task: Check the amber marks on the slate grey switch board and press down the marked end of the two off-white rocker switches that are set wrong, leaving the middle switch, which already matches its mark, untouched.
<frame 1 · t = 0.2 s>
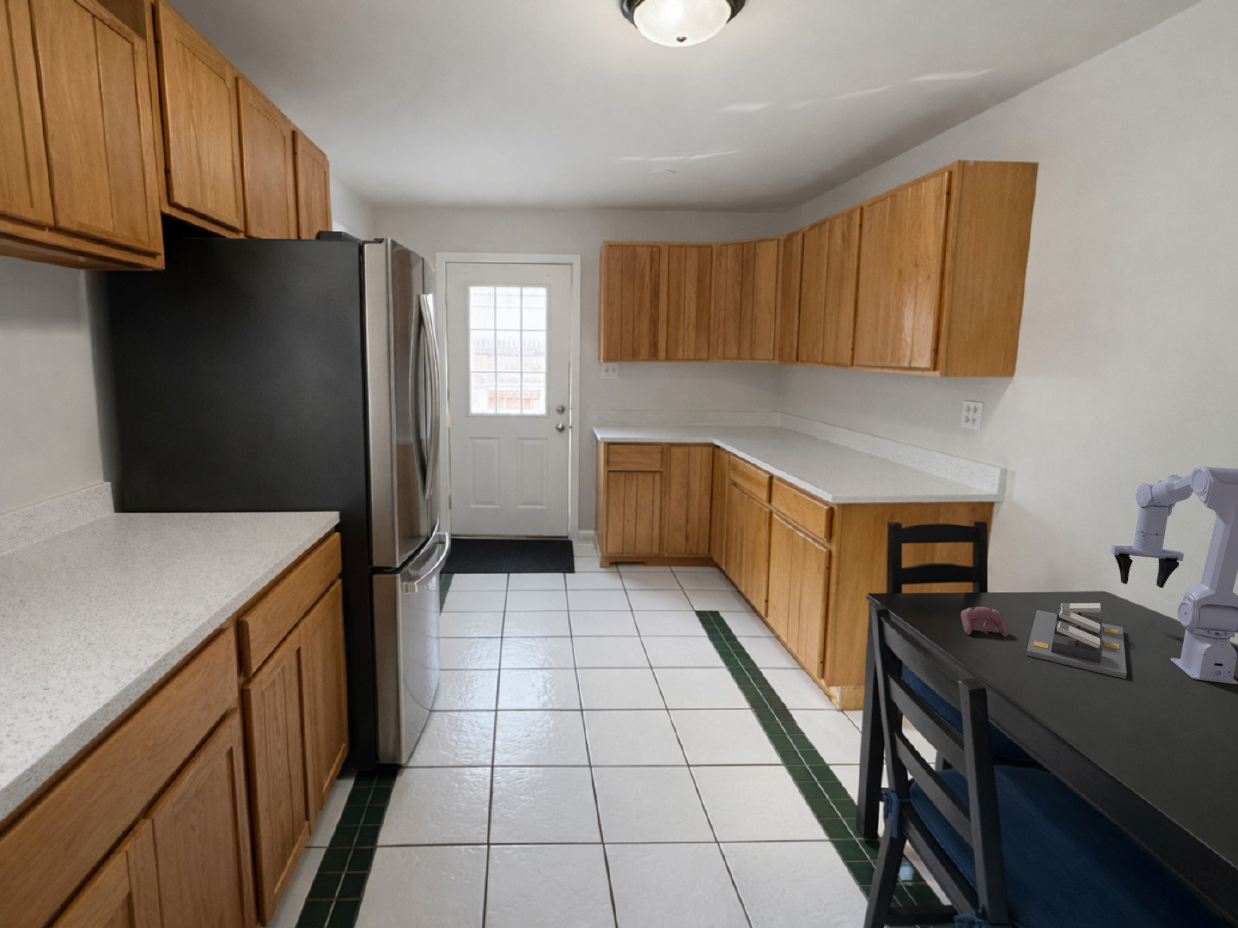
hand: (1141, 584, 171), 10 cm above the table, tool pointing down, fingers open, 7 cm apart
rocker far: (1080, 607, 167), point 6 cm above the table, hinge at 14.0°
rocker near: (1078, 634, 151), point 6 cm above the table, hinge at -14.0°
rocker middle: (1079, 620, 159), point 6 cm above the table, hinge at -14.0°
switch board: (1076, 643, 160), on the table
video game controller: (982, 633, 165), on the table
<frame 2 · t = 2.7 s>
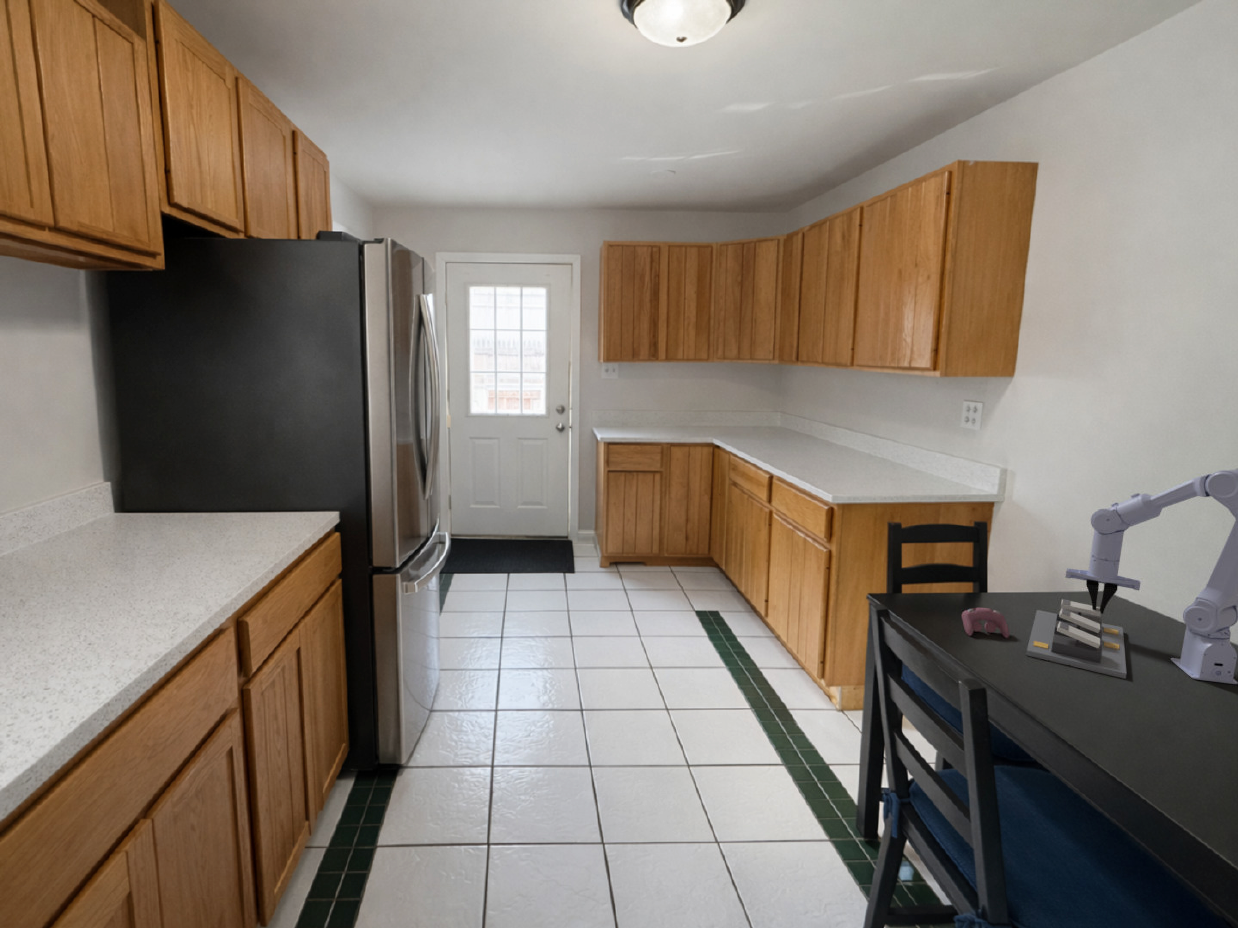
hand: (1097, 611, 165), 5 cm above the table, tool pointing down, fingers closed, pressing on rocker far
rocker far: (1080, 607, 167), point 6 cm above the table, hinge at -1.6°, touching gripper
everything else where it was.
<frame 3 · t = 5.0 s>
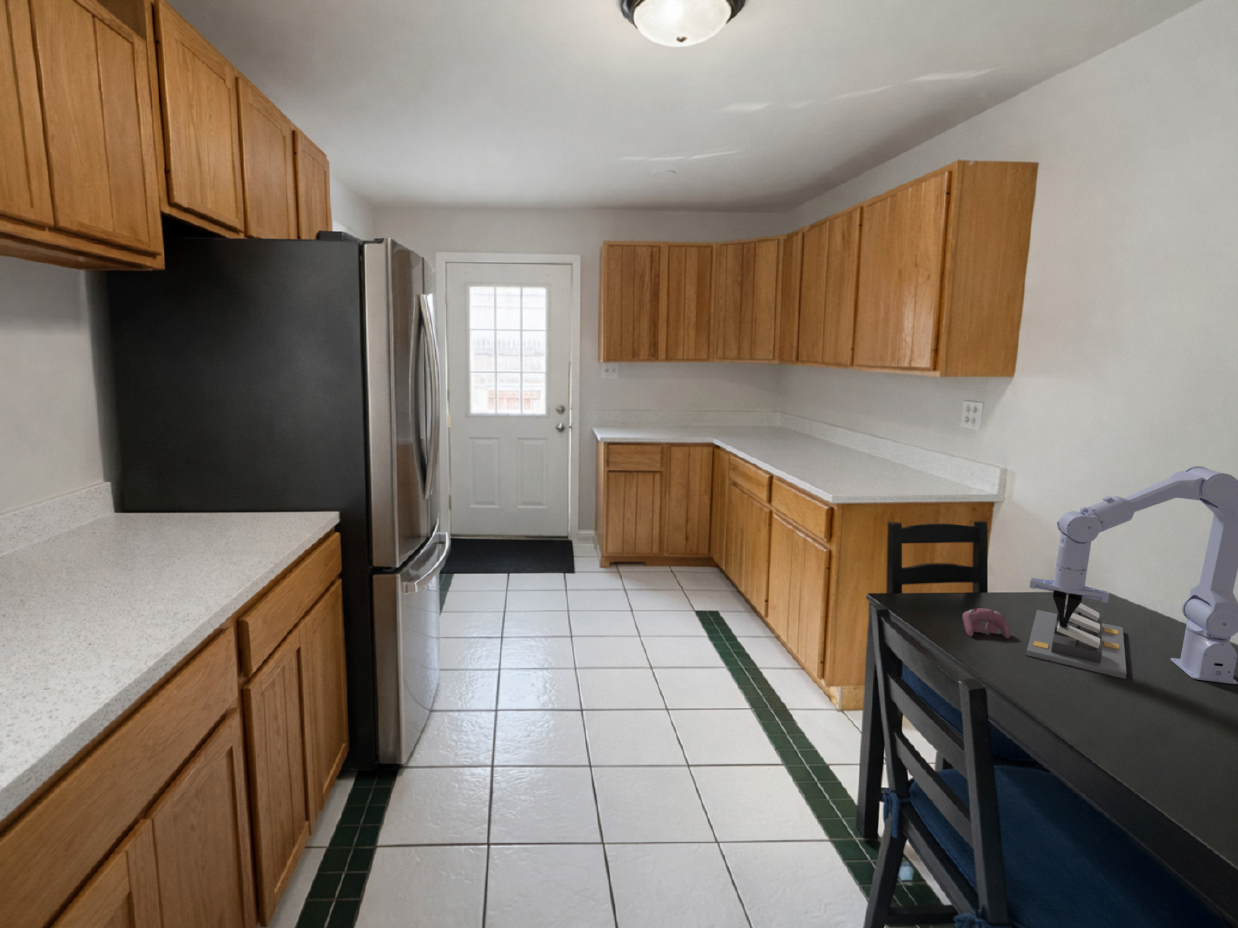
hand: (1063, 625, 152), 7 cm above the table, tool pointing down, fingers closed, pressing on rocker near
rocker far: (1080, 607, 167), point 6 cm above the table, hinge at -22.0°
rocker near: (1078, 634, 151), point 6 cm above the table, hinge at -14.0°, touching gripper
everything else where it was.
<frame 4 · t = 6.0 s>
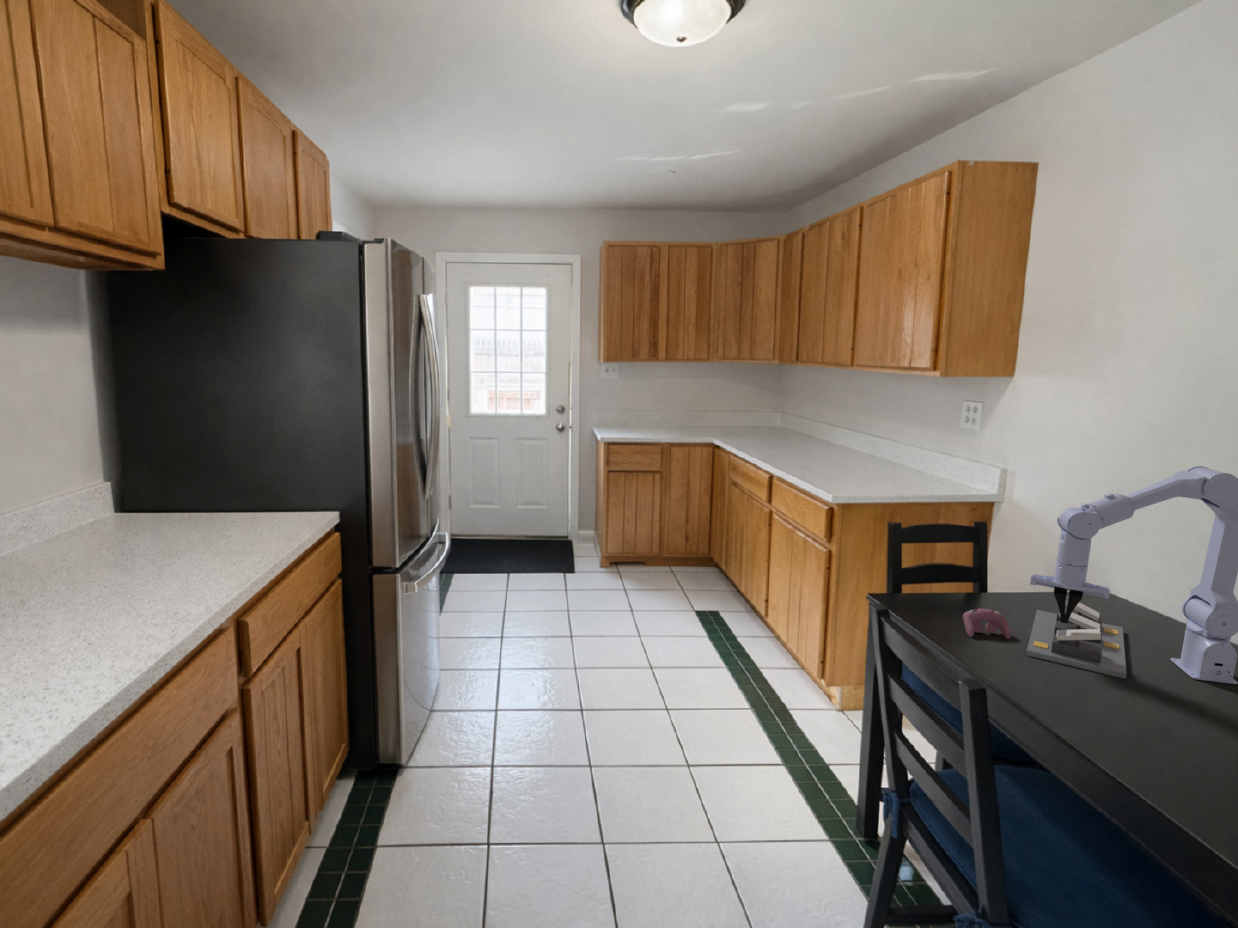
hand: (1064, 621, 152), 8 cm above the table, tool pointing down, fingers closed
rocker far: (1080, 607, 167), point 6 cm above the table, hinge at -21.5°
rocker near: (1078, 634, 151), point 6 cm above the table, hinge at 16.9°
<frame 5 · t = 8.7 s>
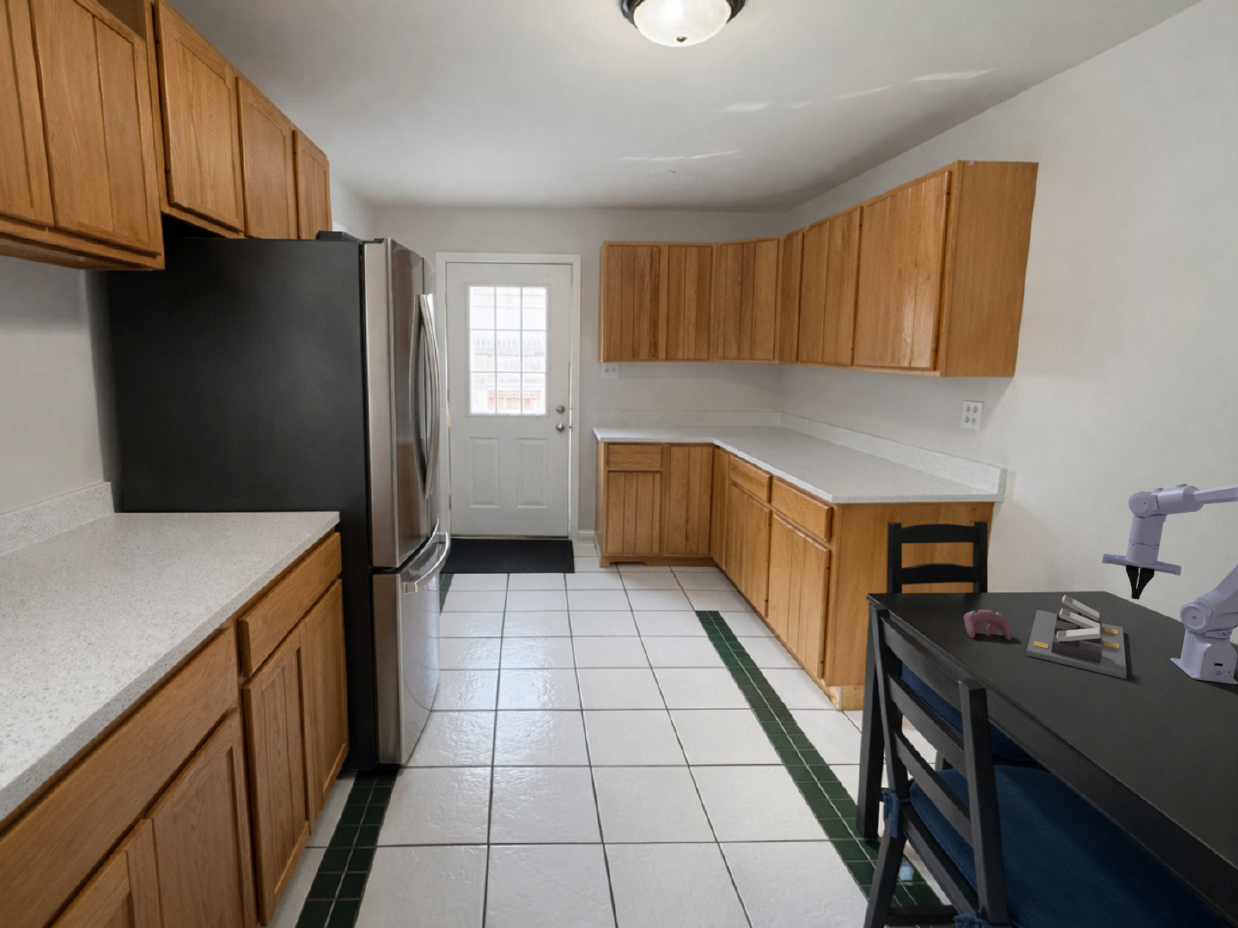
hand: (1135, 598, 161), 10 cm above the table, tool pointing down, fingers closed
rocker near: (1078, 634, 151), point 6 cm above the table, hinge at 21.3°
at the end: rocker near at +21° (first picture: -14°); rocker far at -21° (first picture: +14°); rocker middle at -14° (first picture: -14°) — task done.
